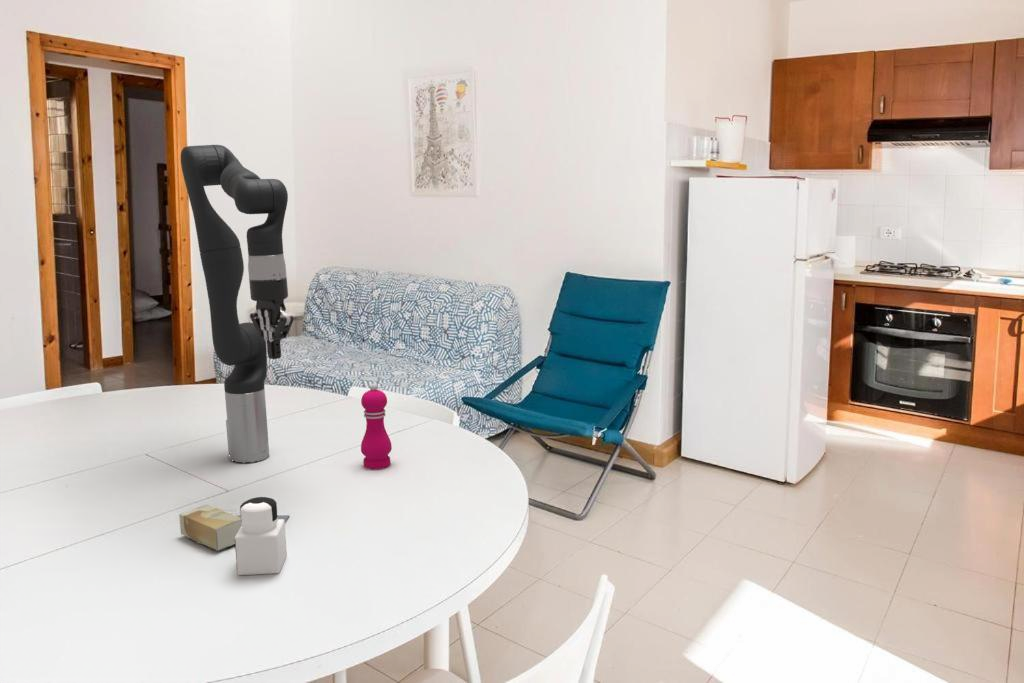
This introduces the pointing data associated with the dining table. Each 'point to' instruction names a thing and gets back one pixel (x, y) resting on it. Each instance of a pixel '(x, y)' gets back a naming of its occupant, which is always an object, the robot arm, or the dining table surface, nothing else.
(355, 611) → the dining table surface
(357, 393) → the dining table surface
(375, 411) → the pepper mill
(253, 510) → the medicine bottle
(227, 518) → the skincare box
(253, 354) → the robot arm
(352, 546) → the dining table surface
